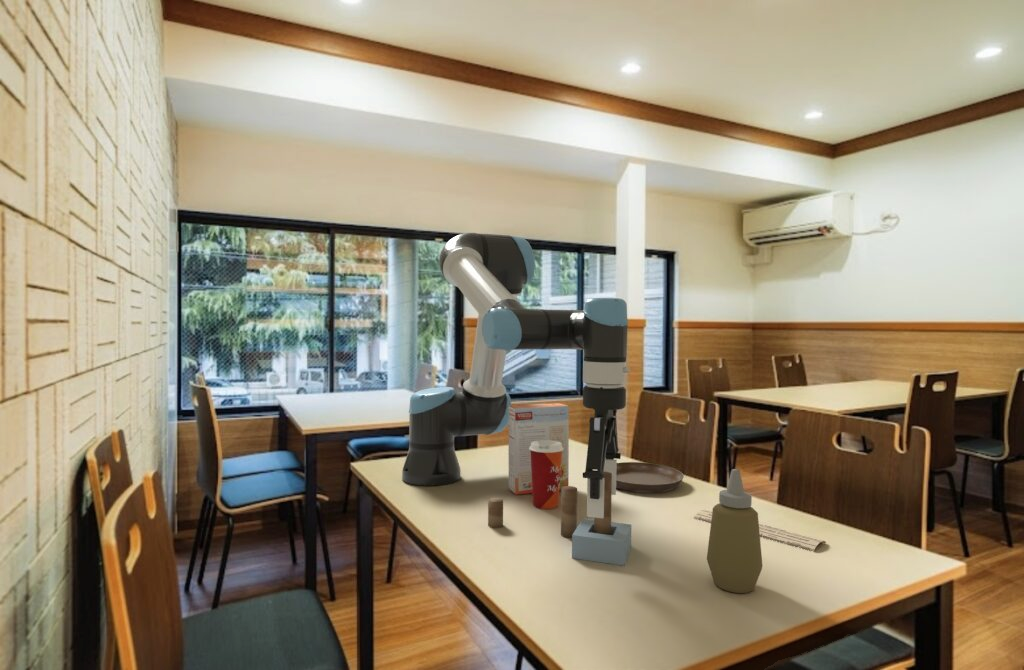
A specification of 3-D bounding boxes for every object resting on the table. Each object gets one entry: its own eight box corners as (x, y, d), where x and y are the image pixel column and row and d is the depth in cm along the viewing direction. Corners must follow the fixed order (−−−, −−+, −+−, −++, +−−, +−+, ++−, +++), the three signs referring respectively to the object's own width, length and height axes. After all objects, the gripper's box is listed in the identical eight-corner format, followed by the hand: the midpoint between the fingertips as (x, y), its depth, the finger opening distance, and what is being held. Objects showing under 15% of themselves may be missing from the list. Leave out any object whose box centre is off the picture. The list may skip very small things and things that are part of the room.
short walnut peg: (491, 522, 115) (491, 497, 115) (505, 523, 114) (505, 499, 114) (485, 526, 112) (486, 501, 112) (499, 528, 111) (500, 503, 111)
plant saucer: (689, 498, 133) (689, 484, 133) (601, 494, 136) (601, 480, 136) (677, 476, 154) (677, 463, 154) (600, 472, 157) (600, 460, 157)
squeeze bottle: (697, 574, 91) (699, 464, 91) (745, 573, 92) (747, 463, 92) (720, 598, 83) (722, 477, 83) (772, 597, 84) (774, 476, 84)
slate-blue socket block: (582, 539, 106) (582, 518, 106) (631, 546, 103) (631, 524, 103) (571, 558, 98) (572, 534, 97) (624, 565, 95) (624, 541, 95)
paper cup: (560, 511, 122) (561, 447, 122) (525, 509, 123) (526, 445, 123) (564, 501, 130) (565, 440, 129) (531, 498, 131) (532, 438, 131)
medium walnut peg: (562, 531, 110) (563, 485, 110) (578, 533, 109) (578, 486, 109) (559, 536, 108) (559, 489, 107) (574, 538, 107) (575, 491, 106)
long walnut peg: (595, 547, 102) (596, 470, 102) (611, 550, 101) (613, 472, 101) (592, 554, 99) (593, 474, 99) (609, 556, 98) (610, 476, 98)
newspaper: (693, 522, 119) (693, 513, 119) (710, 514, 123) (710, 506, 123) (814, 556, 101) (814, 546, 101) (828, 545, 106) (828, 536, 106)
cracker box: (559, 484, 144) (560, 402, 143) (569, 490, 138) (570, 405, 138) (507, 488, 139) (507, 403, 139) (514, 495, 133) (515, 407, 133)
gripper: (615, 394, 87) (612, 531, 87) (634, 379, 111) (632, 487, 111) (567, 392, 89) (565, 525, 90) (596, 378, 113) (594, 483, 113)
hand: (602, 504), depth 100 cm, fingers open, 13 cm apart
